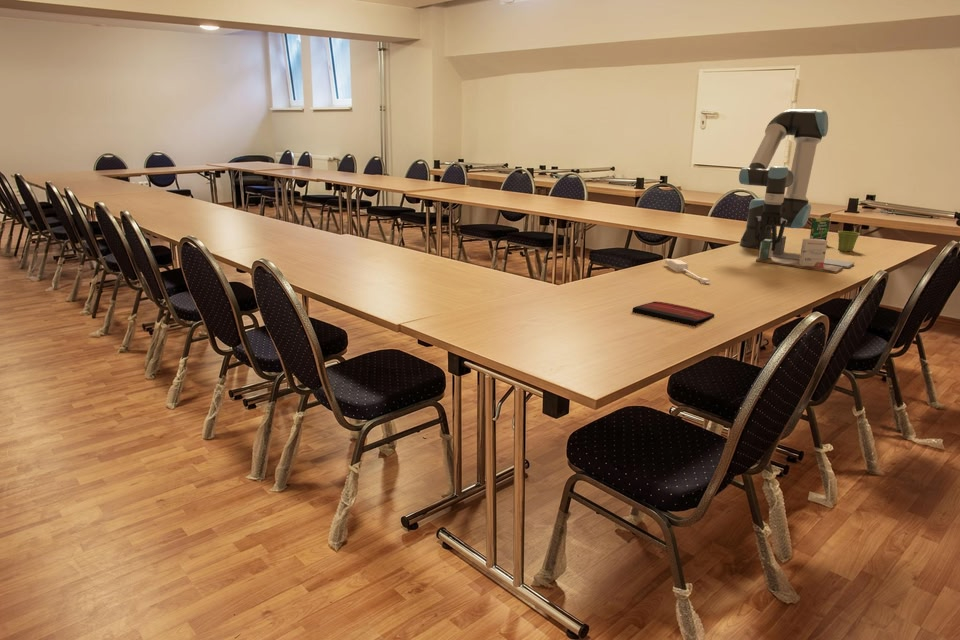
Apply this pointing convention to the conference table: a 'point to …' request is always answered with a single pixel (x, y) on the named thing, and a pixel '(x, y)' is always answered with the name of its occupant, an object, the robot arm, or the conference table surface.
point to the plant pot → (847, 240)
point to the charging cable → (683, 268)
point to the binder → (673, 313)
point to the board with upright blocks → (790, 262)
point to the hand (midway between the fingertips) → (765, 256)
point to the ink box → (813, 252)
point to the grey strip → (780, 254)
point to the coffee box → (819, 228)
